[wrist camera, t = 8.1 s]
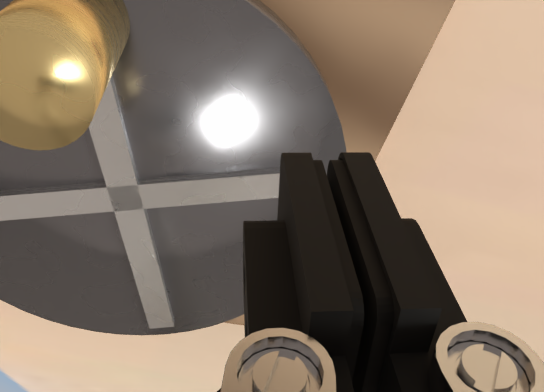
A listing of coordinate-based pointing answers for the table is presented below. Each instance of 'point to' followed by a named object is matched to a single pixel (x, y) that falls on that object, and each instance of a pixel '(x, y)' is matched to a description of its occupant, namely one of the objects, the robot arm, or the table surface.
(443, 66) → the table surface
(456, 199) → the table surface
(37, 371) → the table surface
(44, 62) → the handwheel
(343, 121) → the valve base
